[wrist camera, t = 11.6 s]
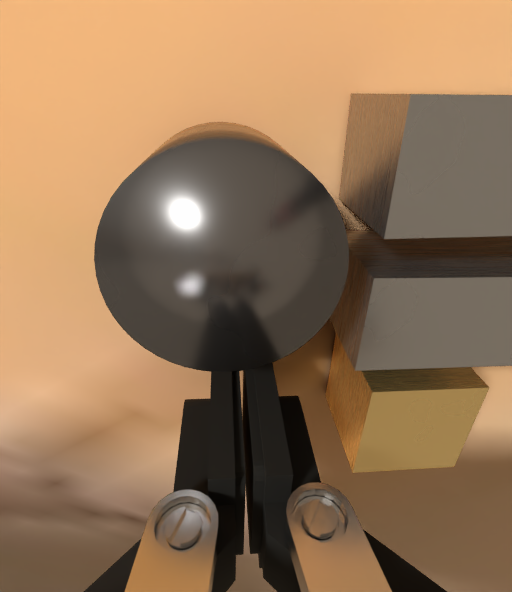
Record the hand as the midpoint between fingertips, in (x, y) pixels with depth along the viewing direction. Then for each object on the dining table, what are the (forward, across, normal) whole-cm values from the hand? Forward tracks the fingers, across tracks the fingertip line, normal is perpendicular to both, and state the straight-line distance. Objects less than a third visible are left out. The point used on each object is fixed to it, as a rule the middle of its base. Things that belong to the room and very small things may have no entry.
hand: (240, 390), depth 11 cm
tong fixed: (+1, -10, -4) cm, 10 cm away
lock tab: (+1, -5, 0) cm, 5 cm away
